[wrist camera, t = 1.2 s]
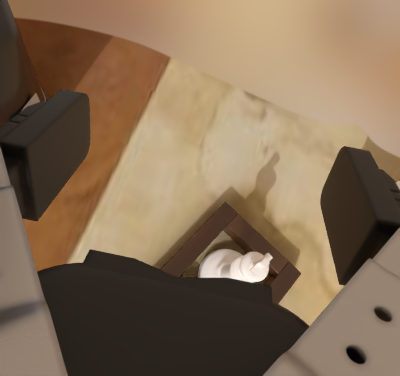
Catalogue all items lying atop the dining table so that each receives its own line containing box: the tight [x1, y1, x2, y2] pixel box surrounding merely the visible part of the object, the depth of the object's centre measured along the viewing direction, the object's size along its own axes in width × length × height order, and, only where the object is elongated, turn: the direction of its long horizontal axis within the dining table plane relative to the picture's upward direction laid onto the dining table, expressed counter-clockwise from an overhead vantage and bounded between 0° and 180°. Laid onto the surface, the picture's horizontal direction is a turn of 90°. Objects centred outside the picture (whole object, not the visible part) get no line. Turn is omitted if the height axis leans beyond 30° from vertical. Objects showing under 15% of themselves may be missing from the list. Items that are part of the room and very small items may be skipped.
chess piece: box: [198, 249, 273, 283], centre depth 27 cm, size 5×5×10 cm
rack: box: [161, 202, 301, 304], centre depth 30 cm, size 9×16×2 cm, turn 138°
